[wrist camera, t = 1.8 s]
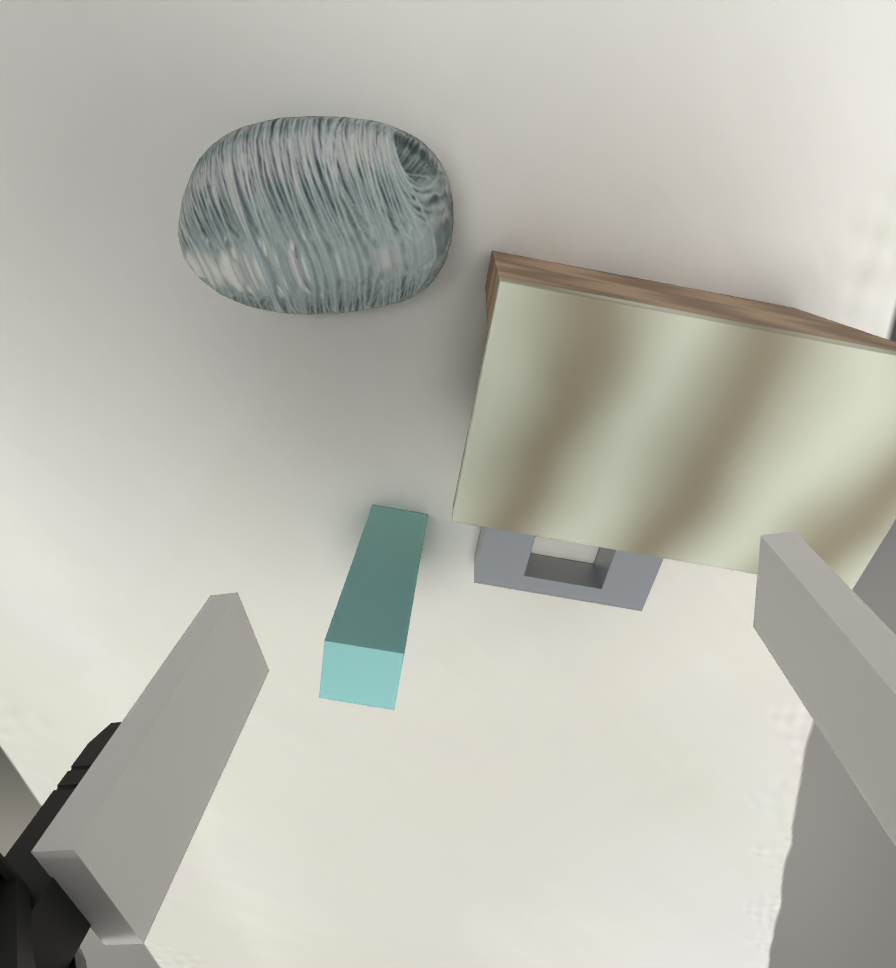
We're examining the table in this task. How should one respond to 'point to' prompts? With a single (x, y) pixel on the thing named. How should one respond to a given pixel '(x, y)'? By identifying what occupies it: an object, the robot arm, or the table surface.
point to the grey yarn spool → (317, 215)
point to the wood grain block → (676, 421)
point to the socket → (564, 571)
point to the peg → (374, 612)
